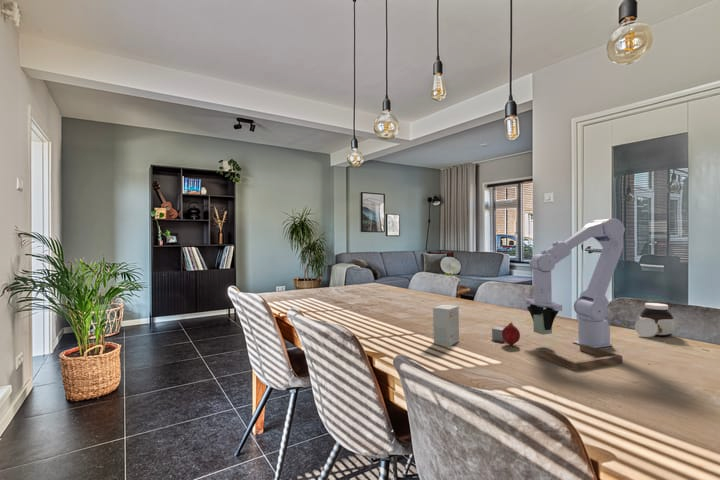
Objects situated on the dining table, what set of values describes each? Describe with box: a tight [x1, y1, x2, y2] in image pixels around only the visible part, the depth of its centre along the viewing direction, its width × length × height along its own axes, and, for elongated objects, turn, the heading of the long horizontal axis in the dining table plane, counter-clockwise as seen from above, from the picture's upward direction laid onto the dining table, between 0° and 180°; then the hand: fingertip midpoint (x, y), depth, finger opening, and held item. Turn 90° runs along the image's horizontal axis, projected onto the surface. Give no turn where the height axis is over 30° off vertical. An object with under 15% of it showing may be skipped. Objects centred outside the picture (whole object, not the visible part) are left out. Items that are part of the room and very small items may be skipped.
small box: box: [432, 304, 460, 347], centre depth 131 cm, size 8×6×13 cm
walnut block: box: [538, 344, 623, 371], centre depth 112 cm, size 18×13×2 cm
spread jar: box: [634, 302, 675, 338], centre depth 137 cm, size 12×11×12 cm
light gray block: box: [491, 326, 505, 342], centre depth 135 cm, size 4×4×4 cm
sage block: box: [532, 314, 553, 336], centre depth 126 cm, size 4×4×6 cm
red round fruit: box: [502, 321, 521, 346], centre depth 127 cm, size 6×6×8 cm
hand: (542, 328), depth 126 cm, fingers closed on sage block, 4 cm apart
